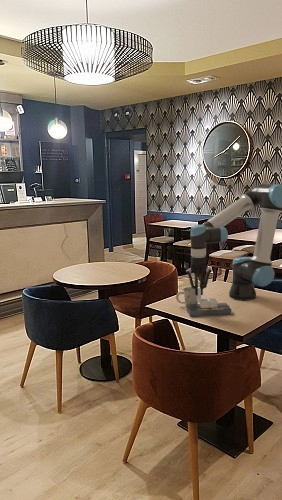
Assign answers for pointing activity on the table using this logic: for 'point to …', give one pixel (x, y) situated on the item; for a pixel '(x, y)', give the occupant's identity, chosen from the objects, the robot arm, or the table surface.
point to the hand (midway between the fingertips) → (199, 301)
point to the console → (208, 310)
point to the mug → (188, 296)
